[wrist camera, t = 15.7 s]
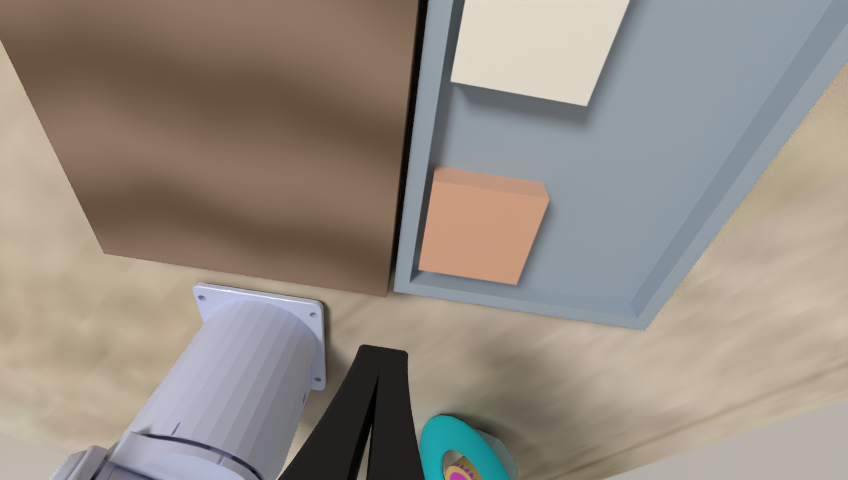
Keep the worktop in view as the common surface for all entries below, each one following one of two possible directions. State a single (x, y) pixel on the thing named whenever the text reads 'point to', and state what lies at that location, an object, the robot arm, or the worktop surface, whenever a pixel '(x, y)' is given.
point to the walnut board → (229, 128)
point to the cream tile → (536, 46)
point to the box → (623, 148)
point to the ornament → (464, 452)
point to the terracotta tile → (481, 224)
